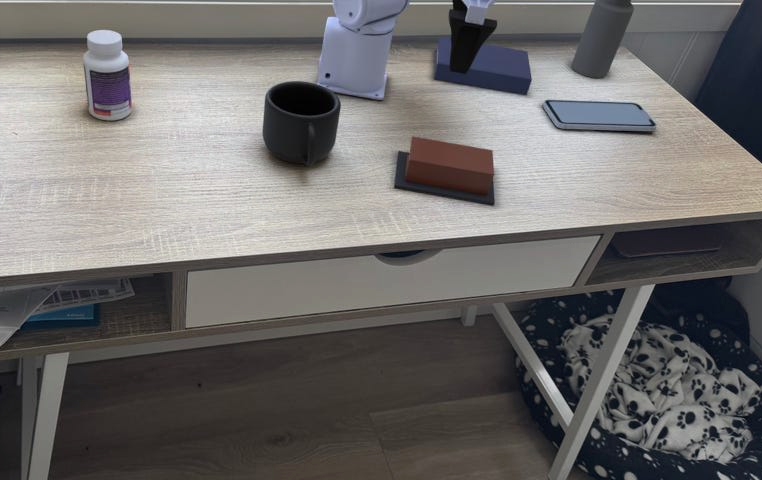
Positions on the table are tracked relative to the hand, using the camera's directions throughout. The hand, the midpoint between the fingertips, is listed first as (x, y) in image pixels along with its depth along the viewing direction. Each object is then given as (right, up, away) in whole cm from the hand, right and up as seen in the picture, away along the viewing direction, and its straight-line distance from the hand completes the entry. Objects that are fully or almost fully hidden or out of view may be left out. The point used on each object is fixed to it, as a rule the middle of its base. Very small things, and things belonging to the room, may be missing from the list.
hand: (458, 58), depth 92 cm
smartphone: (+23, -4, +14) cm, 27 cm away
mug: (-20, -13, -2) cm, 24 cm away
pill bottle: (-44, -6, +1) cm, 45 cm away
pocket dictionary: (-2, -15, -2) cm, 15 cm away
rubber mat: (-2, -15, -2) cm, 16 cm away
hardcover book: (+8, +5, +21) cm, 23 cm away
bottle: (+27, +7, +26) cm, 38 cm away
